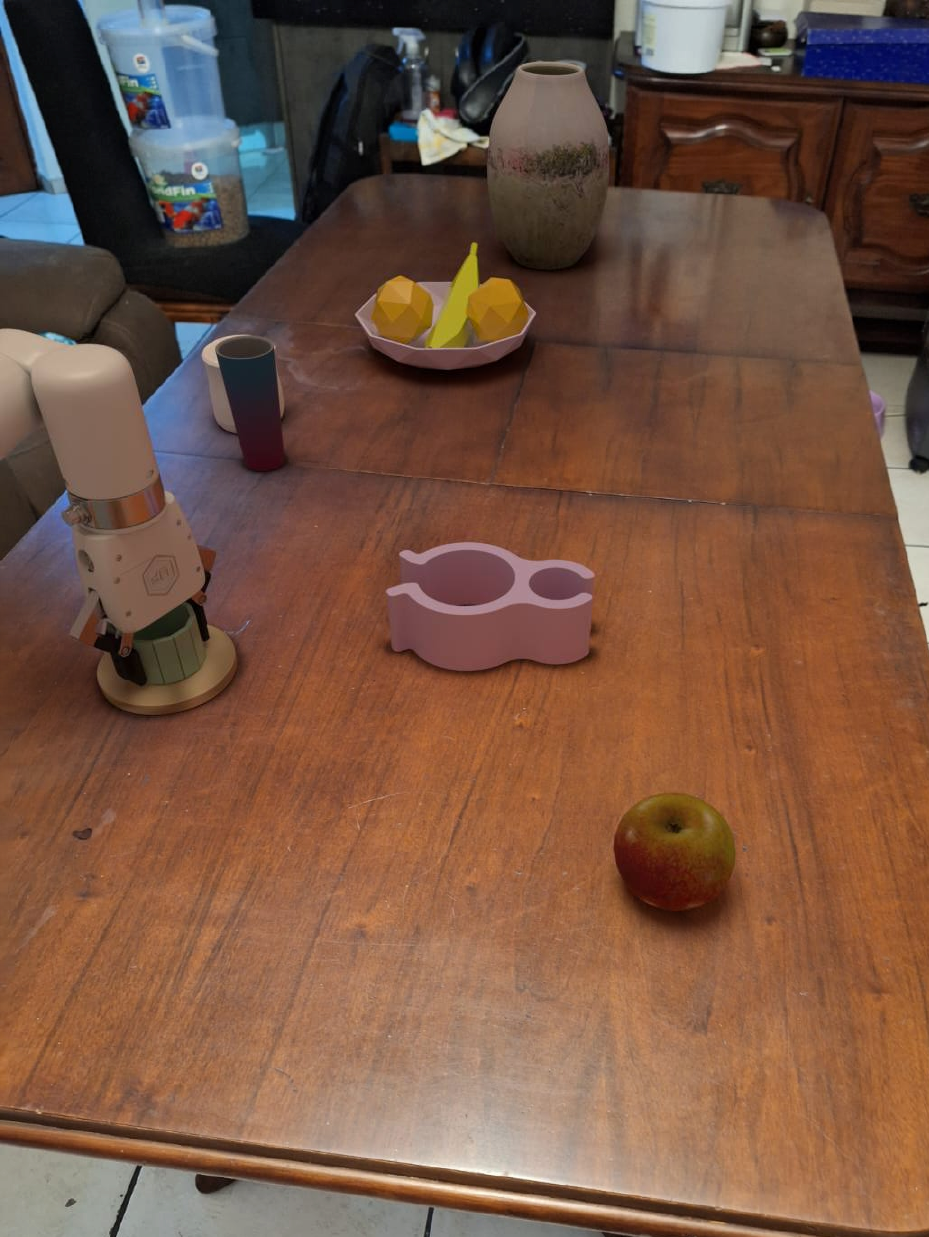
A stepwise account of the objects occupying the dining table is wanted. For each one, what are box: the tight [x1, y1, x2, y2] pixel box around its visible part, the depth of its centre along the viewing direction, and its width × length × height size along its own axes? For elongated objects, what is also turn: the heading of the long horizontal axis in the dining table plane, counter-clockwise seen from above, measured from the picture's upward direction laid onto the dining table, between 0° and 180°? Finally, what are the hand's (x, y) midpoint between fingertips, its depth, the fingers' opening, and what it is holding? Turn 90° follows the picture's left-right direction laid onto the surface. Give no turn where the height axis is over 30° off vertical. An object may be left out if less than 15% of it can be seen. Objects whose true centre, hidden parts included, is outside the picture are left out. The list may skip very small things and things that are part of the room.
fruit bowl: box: [354, 241, 537, 371], centre depth 154 cm, size 28×27×11 cm
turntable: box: [96, 624, 238, 716], centre depth 100 cm, size 13×13×1 cm
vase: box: [486, 61, 610, 271], centre depth 178 cm, size 21×21×30 cm
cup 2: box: [215, 334, 286, 472], centre depth 126 cm, size 7×7×15 cm
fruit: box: [613, 792, 736, 912], centre depth 80 cm, size 10×9×8 cm
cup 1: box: [200, 334, 286, 435], centre depth 136 cm, size 10×10×10 cm
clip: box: [385, 541, 595, 672], centre depth 103 cm, size 20×12×7 cm, turn 85°
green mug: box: [116, 602, 206, 685], centre depth 98 cm, size 10×7×5 cm
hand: (166, 656), depth 99 cm, fingers closed on green mug, 7 cm apart
